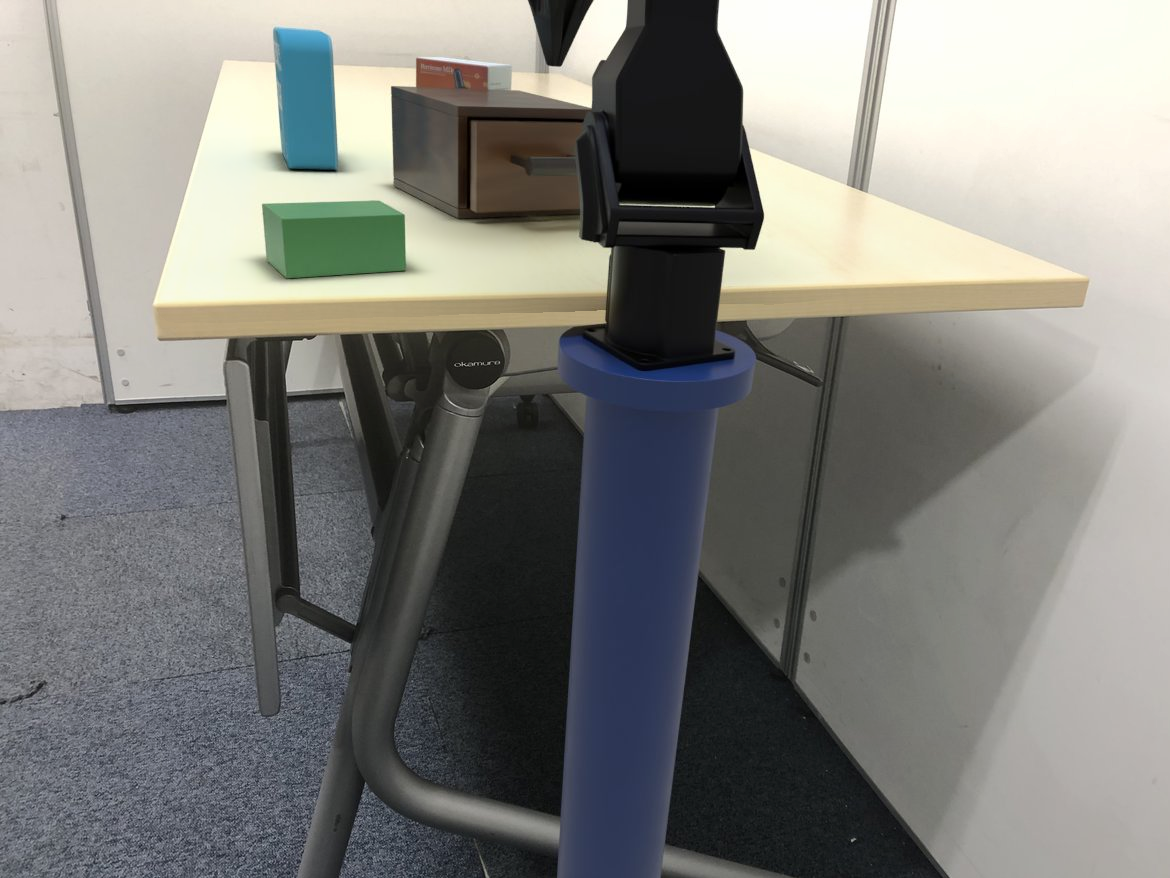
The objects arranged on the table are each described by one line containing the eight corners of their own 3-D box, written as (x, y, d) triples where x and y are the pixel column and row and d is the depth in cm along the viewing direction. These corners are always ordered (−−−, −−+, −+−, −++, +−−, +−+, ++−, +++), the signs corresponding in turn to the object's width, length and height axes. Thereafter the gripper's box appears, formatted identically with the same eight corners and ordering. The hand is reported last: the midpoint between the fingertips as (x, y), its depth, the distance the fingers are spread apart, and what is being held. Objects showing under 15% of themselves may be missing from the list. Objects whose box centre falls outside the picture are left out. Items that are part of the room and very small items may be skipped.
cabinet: (591, 213, 86) (598, 109, 82) (457, 218, 79) (458, 106, 76) (516, 183, 97) (519, 90, 93) (393, 186, 90) (390, 85, 86)
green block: (406, 270, 63) (405, 214, 62) (286, 278, 59) (281, 218, 58) (381, 254, 67) (379, 200, 65) (266, 260, 63) (261, 203, 61)
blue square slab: (281, 152, 102) (272, 25, 97) (326, 153, 104) (319, 29, 99) (289, 171, 92) (279, 32, 87) (339, 172, 94) (332, 36, 89)
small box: (414, 168, 100) (412, 56, 95) (441, 162, 104) (441, 55, 100) (486, 178, 98) (487, 64, 93) (510, 172, 102) (512, 63, 98)
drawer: (625, 218, 80) (632, 131, 77) (499, 224, 74) (501, 129, 72) (527, 180, 93) (529, 104, 91) (412, 182, 88) (411, 101, 85)
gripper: (616, -148, 79) (604, 62, 85) (392, -190, 69) (397, 51, 76) (697, -159, 71) (676, 75, 77) (455, -208, 61) (456, 64, 68)
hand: (553, 66), depth 75 cm, fingers closed
